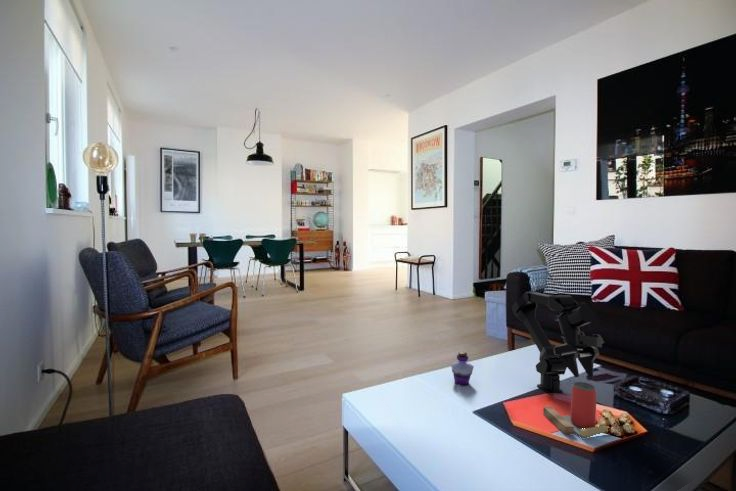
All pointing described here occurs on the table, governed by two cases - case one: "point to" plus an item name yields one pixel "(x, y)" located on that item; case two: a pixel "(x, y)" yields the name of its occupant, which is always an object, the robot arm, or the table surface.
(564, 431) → the walnut rail
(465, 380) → the potion bottle
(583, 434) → the grey flat slab
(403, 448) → the table surface
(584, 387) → the beer can
